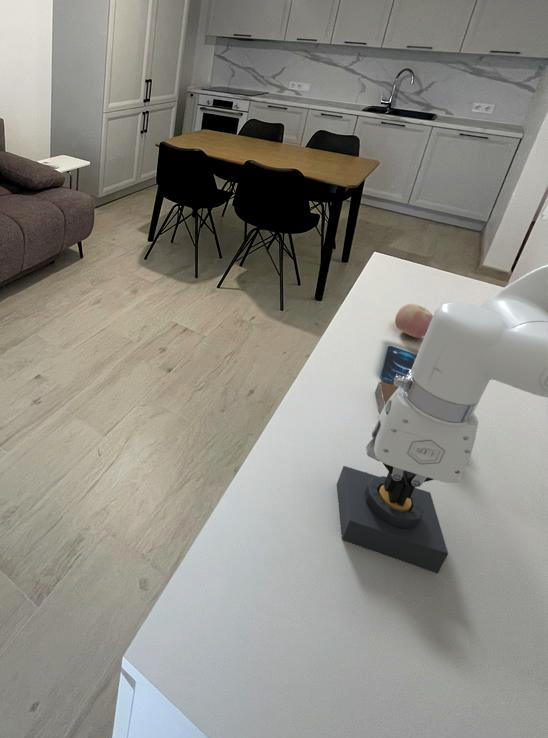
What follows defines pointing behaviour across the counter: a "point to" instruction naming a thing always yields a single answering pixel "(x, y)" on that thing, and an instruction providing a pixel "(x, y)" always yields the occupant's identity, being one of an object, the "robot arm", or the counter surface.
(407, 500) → the yellow button cap
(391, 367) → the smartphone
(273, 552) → the counter surface
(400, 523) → the button base
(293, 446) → the counter surface
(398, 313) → the apple
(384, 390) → the dial panel
